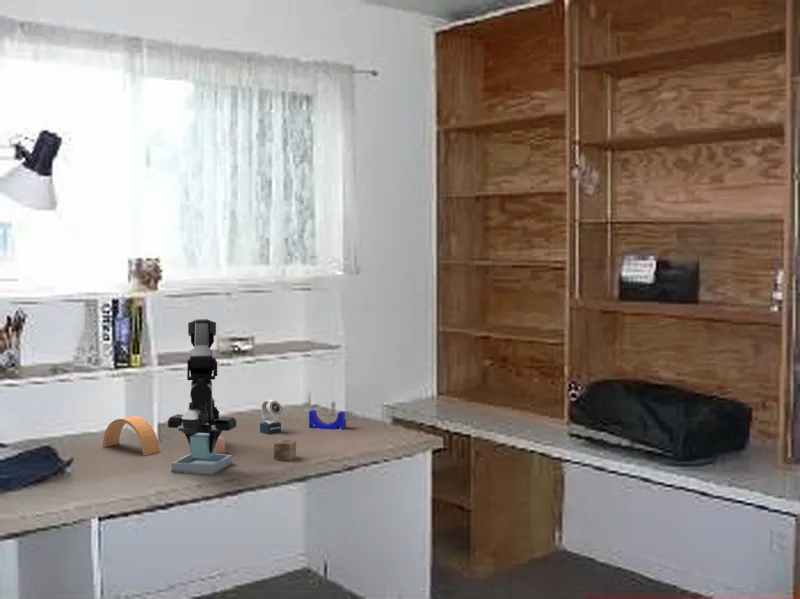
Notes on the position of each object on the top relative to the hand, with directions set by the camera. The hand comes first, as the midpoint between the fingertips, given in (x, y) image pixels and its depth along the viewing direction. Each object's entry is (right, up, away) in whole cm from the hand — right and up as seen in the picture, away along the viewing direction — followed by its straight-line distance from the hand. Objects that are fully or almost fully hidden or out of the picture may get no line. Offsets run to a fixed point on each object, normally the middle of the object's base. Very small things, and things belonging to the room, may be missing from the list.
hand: (202, 452), depth 248 cm
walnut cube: (+22, -4, +12) cm, 25 cm away
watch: (+13, -2, +46) cm, 48 cm away
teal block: (0, -1, 0) cm, 1 cm away
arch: (-27, -3, +22) cm, 35 cm away
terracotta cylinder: (+1, -3, +16) cm, 17 cm away
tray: (0, -4, 0) cm, 4 cm away
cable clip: (+31, -1, +54) cm, 63 cm away
